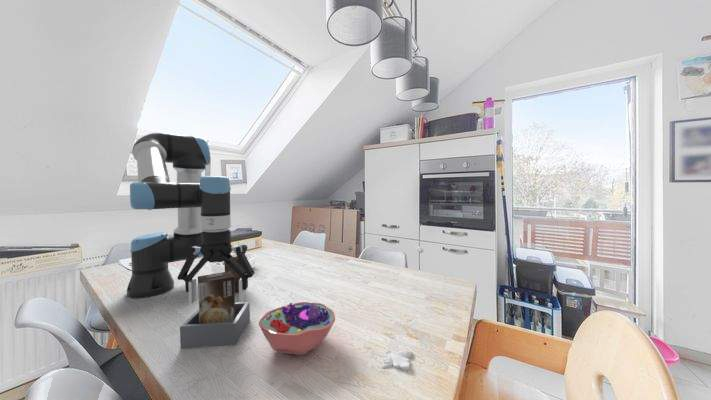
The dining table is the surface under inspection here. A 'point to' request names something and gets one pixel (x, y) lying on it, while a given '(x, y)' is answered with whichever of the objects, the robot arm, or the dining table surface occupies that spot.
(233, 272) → the mortar and pestle
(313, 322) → the cell model
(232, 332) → the open square bin
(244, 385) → the dining table surface
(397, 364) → the acanthus leaf ornament
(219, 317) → the coffee box
